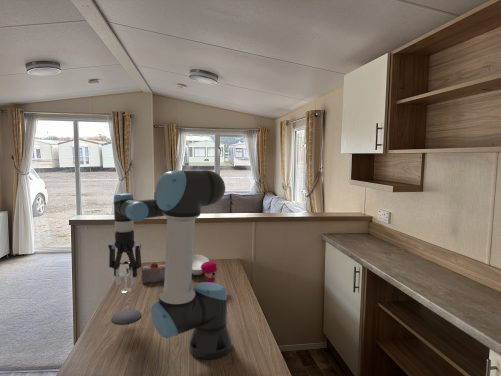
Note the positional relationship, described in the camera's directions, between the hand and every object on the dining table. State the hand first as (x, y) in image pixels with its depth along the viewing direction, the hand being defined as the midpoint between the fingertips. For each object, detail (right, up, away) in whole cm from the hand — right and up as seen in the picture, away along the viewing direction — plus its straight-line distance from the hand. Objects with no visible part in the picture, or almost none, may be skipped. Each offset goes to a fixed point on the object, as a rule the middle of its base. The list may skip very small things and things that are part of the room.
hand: (125, 283), depth 142 cm
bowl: (+21, -10, +60) cm, 64 cm away
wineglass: (0, -3, 0) cm, 3 cm away
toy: (+31, -13, +32) cm, 47 cm away
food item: (-1, -11, +45) cm, 46 cm away
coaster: (0, -15, +1) cm, 15 cm away
